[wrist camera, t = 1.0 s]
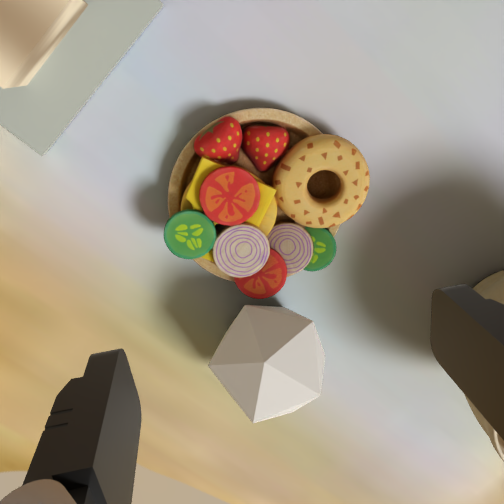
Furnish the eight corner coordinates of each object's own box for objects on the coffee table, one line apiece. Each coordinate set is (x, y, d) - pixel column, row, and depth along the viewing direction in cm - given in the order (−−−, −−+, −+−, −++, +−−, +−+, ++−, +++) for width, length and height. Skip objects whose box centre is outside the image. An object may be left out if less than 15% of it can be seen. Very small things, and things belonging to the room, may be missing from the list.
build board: (-21, -181, 23) (-30, -192, 22) (163, 5, 27) (163, 4, 26) (-143, 8, 25) (-155, 6, 24) (45, 153, 30) (41, 156, 29)
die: (227, 384, 40) (313, 451, 34) (166, 363, 33) (261, 443, 27) (275, 304, 41) (367, 357, 35) (225, 268, 34) (329, 326, 28)
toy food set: (376, 153, 33) (395, 162, 30) (297, 301, 37) (307, 322, 34) (209, 73, 29) (212, 74, 26) (140, 247, 33) (137, 265, 30)
